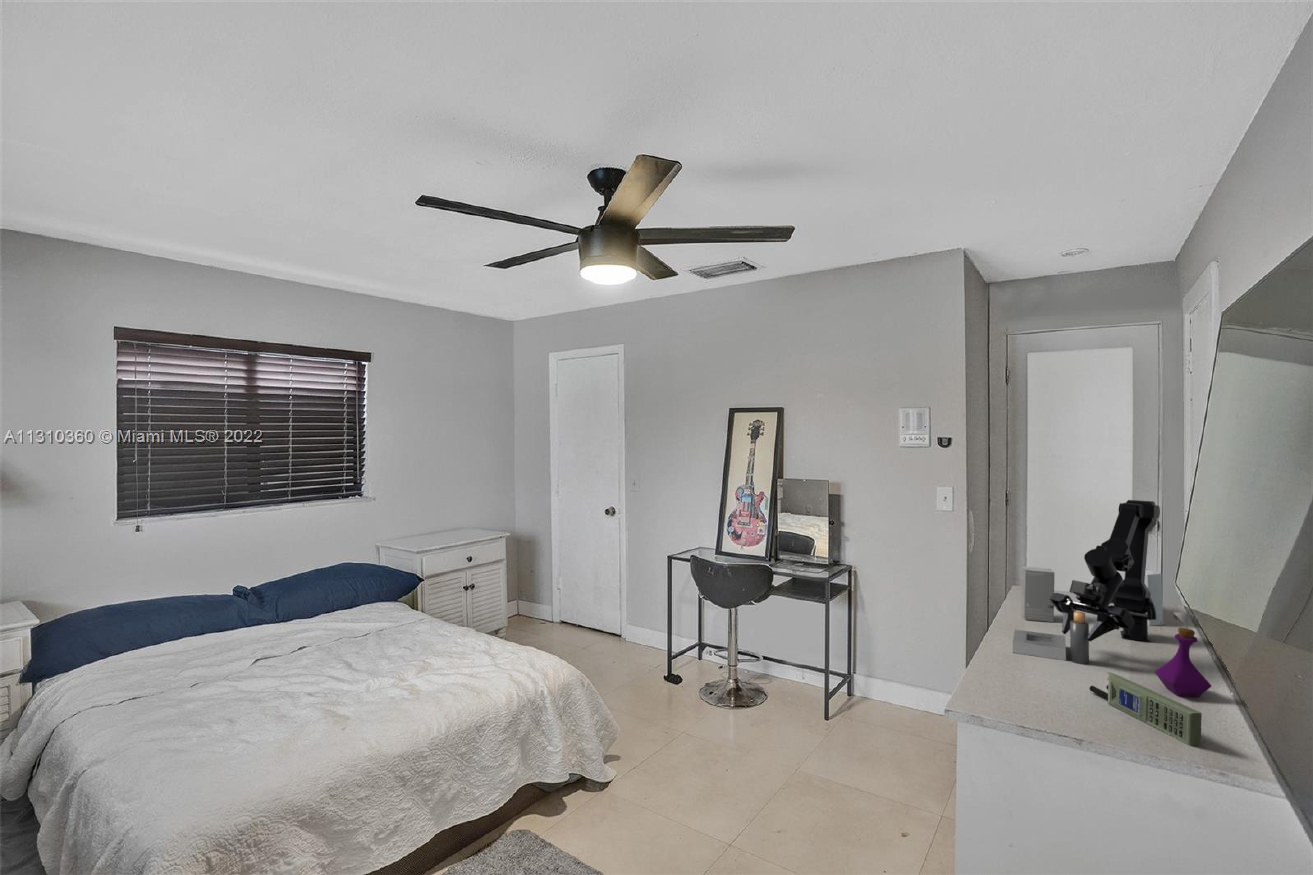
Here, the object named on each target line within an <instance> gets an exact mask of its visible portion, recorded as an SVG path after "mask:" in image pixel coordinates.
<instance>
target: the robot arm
mask: <svg viewBox="0 0 1313 875" xmlns="http://www.w3.org/2000/svg"><path fill="white" fill-rule="evenodd" d="M1160 515H1161V508H1160V506H1159V505H1156V502H1155V501H1153V500H1152V501H1150V500H1136V499H1128V500H1127V501H1126V502H1119V504H1118V515H1117V517H1116V520H1115V523H1114V525H1113V528H1112V532H1111V534H1110V537H1109V538H1108V539H1107V540H1105V541H1104V542H1102V543H1101V545H1096V547H1095V548H1092V549H1090V550H1088V551H1087V552H1086V553H1085V554H1084V557H1083V559H1084V561H1085V564H1086V566H1087V568H1088V571H1089V572H1090V574H1091V576H1093V579H1092V581H1091V582H1090V583H1089V582H1084V581H1079V580H1075V579H1072V580H1071V584H1070V588H1069V593H1072V594H1074V595H1076V596H1075V598H1076V599H1077V600H1078V601H1079V602H1076V601H1074V600H1073V599H1072V597H1070V595H1068V594H1064V593H1059V592H1054V593H1053V594H1052V596H1051V597H1050V599H1049V600H1050V601H1051V602H1052V604H1053V605H1054V608H1055V609H1056V610H1057V611H1058V612H1059V613H1061V614H1062V628H1061V629H1062V630H1061V632H1062V633H1063V635H1066V634H1067V633H1069V632H1070V621H1072V620H1074V612H1083V613H1085V614H1086V613H1087V614H1091V615H1095V616H1096V621H1095V623H1094V624H1093V626H1092V627H1091V630H1089V635H1088V638H1087V639H1088V641H1089V642H1092V641H1094V640H1096V639H1098V638H1099V637H1101V636H1103V635H1105V634H1107V633H1110V632H1112V631H1115V630H1117V631H1118V630H1120V629H1122V630H1120V636H1121V638H1122V639H1123V640H1124V639H1125V640H1134V641H1140V642H1141V641H1143V642H1148V643H1149V642H1150V643H1151V642H1152V641H1151V637H1150V634H1149V632H1148V630H1149V629H1148V628H1149V625H1148V620H1156V609H1155V606H1154V604H1153V601H1152V599H1151V593H1150V591H1149V590H1148V588H1147V586H1146V585H1145V583H1144V582H1145V570H1147V569H1146V567H1147V566H1146V565H1147V558H1148V557H1147V556H1148V544H1149V534H1150V532H1151V531H1152V530H1153V529H1154V528H1155V526H1156V525H1157V523H1158V518H1160ZM1117 571H1123V572H1125V579H1124V580H1123V578H1122V576H1121V574H1120V573H1119V572H1117ZM1110 603H1113V604H1114V606H1113V605H1111V606H1109V604H1110ZM1146 613H1147V614H1146Z"/></svg>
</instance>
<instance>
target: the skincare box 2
mask: <svg viewBox="0 0 1313 875" xmlns="http://www.w3.org/2000/svg"><path fill="white" fill-rule="evenodd" d="M1117 572H1119V573H1120V574H1121V576H1122V578H1123V580H1124V579H1125V572H1123V571H1117ZM1162 581H1163V575H1162V573H1160V572H1156V571H1153V570H1150V569H1146V570H1145V582H1144V583H1145V585H1146V586H1147V588H1148V590H1149V591H1150V593H1151V599H1152V601H1153V604H1154V606H1155V609H1156V620H1148V627H1150V626H1163V625H1164V611H1163V610H1164V609H1163V608H1164V606H1163V605H1164V603H1163V602H1164V601H1163V599H1164V598H1163V597H1164V596H1163V582H1162ZM1111 605H1113V606H1114V604H1113V603H1110V604H1109V606H1111ZM1146 614H1147V613H1146Z"/></svg>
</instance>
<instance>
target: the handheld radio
mask: <svg viewBox="0 0 1313 875" xmlns="http://www.w3.org/2000/svg"><path fill="white" fill-rule="evenodd" d="M1106 674H1107V675H1108V676H1107V681H1108V684H1107V685H1106V689H1107V692H1106V691H1104V690H1102V689H1100V688H1098V687H1096V686H1094V685H1090V686H1089V688H1088V689H1089V691H1090V692H1092V693H1094V694H1096V695H1098V696H1099V697H1102V698H1104V699H1107V704H1108V705H1109V706H1111V707H1113V708H1115V709H1118V710H1119V711H1121V712H1123V713H1125V714H1127V715H1129V716H1131V717H1133V718H1135V719H1136V720H1138V719H1139V720H1138V721H1140V720H1141V722H1142V721H1143V723H1145V724H1146V723H1148V724H1149V725H1148V724H1147V725H1148V726H1150V725H1151V726H1150V727H1152V726H1153V727H1152V728H1154V729H1156V728H1157V729H1156V730H1158V729H1159V730H1158V731H1160V732H1161V733H1164V732H1165V733H1164V734H1166V733H1167V734H1166V735H1168V734H1169V735H1168V736H1169V737H1171V736H1172V738H1173V737H1175V738H1176V739H1175V738H1174V739H1175V740H1177V739H1178V741H1179V740H1180V742H1181V741H1182V742H1181V743H1183V742H1184V744H1185V743H1186V744H1185V745H1187V744H1188V745H1187V746H1189V745H1190V746H1189V747H1198V746H1197V745H1201V744H1202V742H1201V741H1202V719H1203V718H1202V715H1203V714H1202V712H1201V711H1199V710H1197V709H1194V708H1192V707H1190V706H1187V705H1185V704H1184V703H1181V702H1178V701H1176V700H1174V699H1172V698H1170V697H1167V696H1166V695H1163V694H1161V693H1159V692H1157V691H1155V690H1152V689H1150V688H1149V687H1145V686H1144V685H1141V684H1139V683H1137V682H1134V681H1133V680H1130V679H1128V678H1126V677H1123V676H1121V675H1119V674H1116V673H1114V672H1109V671H1108V672H1107V671H1106Z"/></svg>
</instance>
